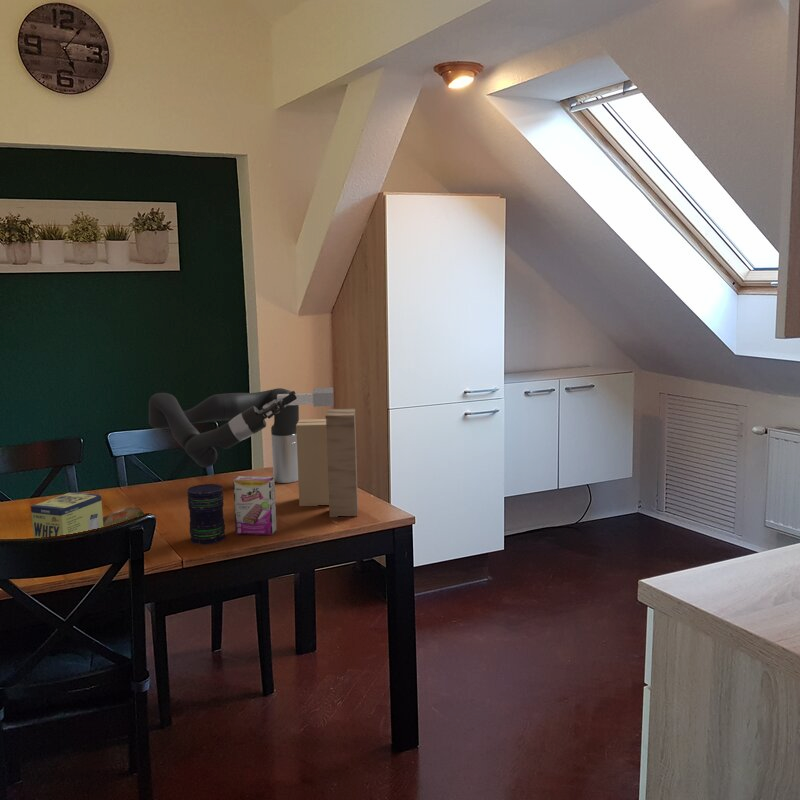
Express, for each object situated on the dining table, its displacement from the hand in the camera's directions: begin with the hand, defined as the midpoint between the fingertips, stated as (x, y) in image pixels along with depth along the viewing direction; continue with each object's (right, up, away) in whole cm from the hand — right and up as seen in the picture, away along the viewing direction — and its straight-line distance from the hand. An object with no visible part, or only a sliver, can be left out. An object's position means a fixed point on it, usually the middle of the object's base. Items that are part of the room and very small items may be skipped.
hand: (295, 394), depth 255 cm
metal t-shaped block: (+3, -3, +1) cm, 4 cm away
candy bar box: (-10, -40, -12) cm, 43 cm away
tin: (-48, -42, -14) cm, 65 cm away
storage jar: (-23, -42, -17) cm, 50 cm away
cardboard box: (+6, -35, +19) cm, 40 cm away
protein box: (-57, -44, -27) cm, 77 cm away
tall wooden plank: (+15, -37, +5) cm, 40 cm away
